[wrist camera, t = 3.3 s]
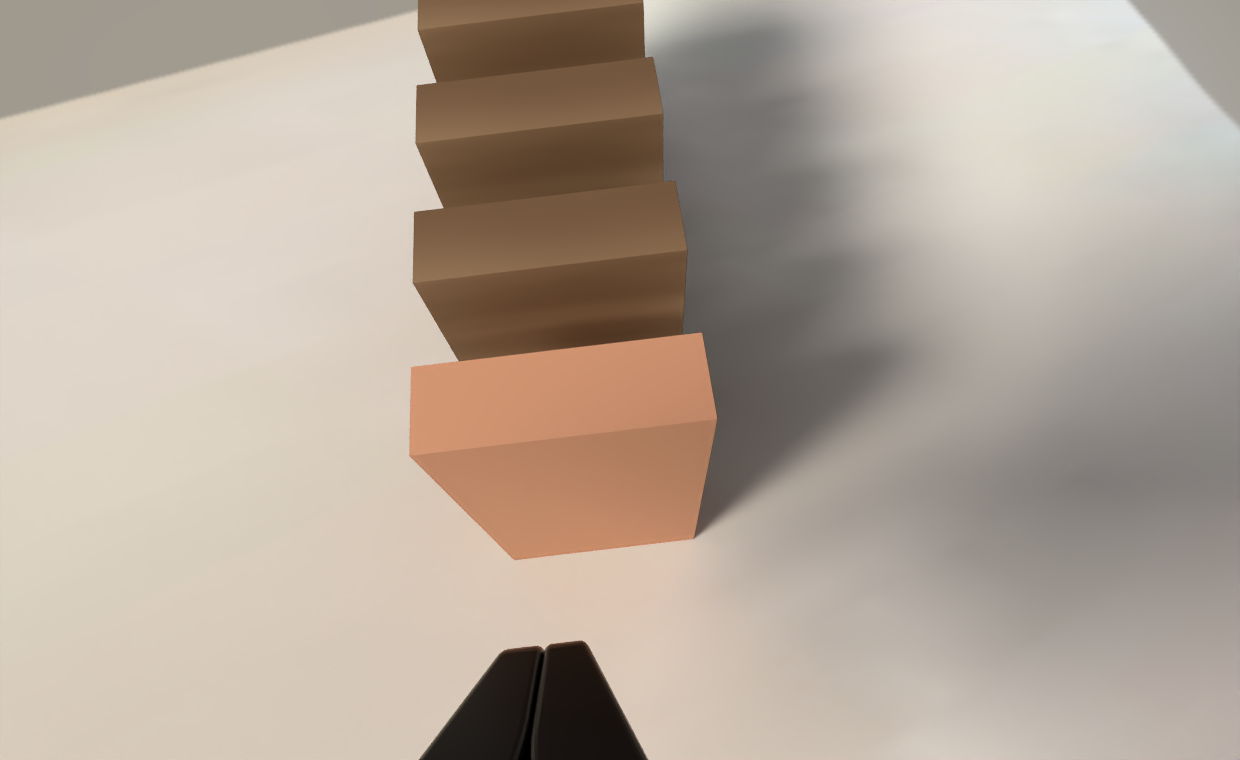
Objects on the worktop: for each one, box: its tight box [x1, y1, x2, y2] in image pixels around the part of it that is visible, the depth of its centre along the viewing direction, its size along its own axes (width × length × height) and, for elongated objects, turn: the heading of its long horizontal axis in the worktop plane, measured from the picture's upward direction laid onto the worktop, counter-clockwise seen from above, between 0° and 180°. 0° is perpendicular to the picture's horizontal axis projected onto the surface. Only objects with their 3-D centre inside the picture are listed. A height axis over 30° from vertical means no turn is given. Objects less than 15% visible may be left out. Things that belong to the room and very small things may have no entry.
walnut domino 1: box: [418, 0, 645, 83], centre depth 20 cm, size 2×5×9 cm, turn 96°
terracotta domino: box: [409, 333, 717, 560], centre depth 16 cm, size 2×5×9 cm, turn 96°
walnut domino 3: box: [413, 181, 687, 361], centre depth 17 cm, size 2×5×9 cm, turn 97°
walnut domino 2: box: [416, 57, 663, 208], centre depth 19 cm, size 2×5×9 cm, turn 96°
